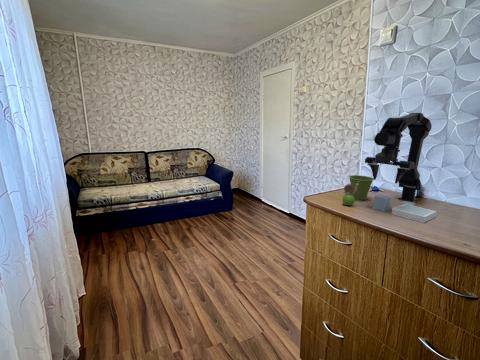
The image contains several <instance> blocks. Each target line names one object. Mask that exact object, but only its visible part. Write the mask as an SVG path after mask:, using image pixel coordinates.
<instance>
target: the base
mask: <svg viewBox="0 0 480 360" xmlns="http://www.w3.org/2000/svg"><path fill="white" fill-rule="evenodd" d="M391 215H394V216H399V217H402V218H406V219H409V220H413V221H416V222H420V223H422V224H425V223H426V222H429V221H430V220H432V219H435V218H436V216H437V211H436V210H431V209H430V208H429V209H428V208H424V207H420V206H417V205H412V204H408V203H404V204H401V205H398V206H395V207H392V210H391Z"/></svg>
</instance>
